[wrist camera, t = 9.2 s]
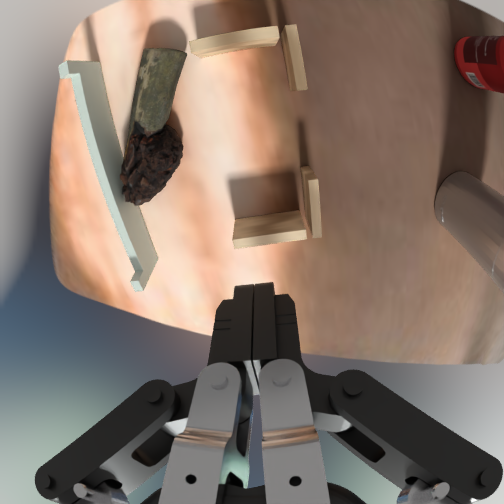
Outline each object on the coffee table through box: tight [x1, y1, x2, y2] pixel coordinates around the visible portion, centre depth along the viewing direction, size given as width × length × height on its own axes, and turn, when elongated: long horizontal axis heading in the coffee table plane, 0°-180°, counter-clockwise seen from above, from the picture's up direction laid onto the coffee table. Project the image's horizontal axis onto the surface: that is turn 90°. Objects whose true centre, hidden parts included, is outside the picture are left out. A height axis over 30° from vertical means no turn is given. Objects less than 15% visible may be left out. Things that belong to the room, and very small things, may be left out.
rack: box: [58, 61, 158, 292], centre depth 27 cm, size 1×28×7 cm, turn 10°
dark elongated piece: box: [120, 48, 187, 206], centre depth 26 cm, size 18×7×6 cm, turn 165°
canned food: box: [454, 36, 504, 93], centre depth 16 cm, size 8×8×11 cm
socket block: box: [189, 25, 322, 249], centre depth 27 cm, size 10×22×5 cm, turn 10°
